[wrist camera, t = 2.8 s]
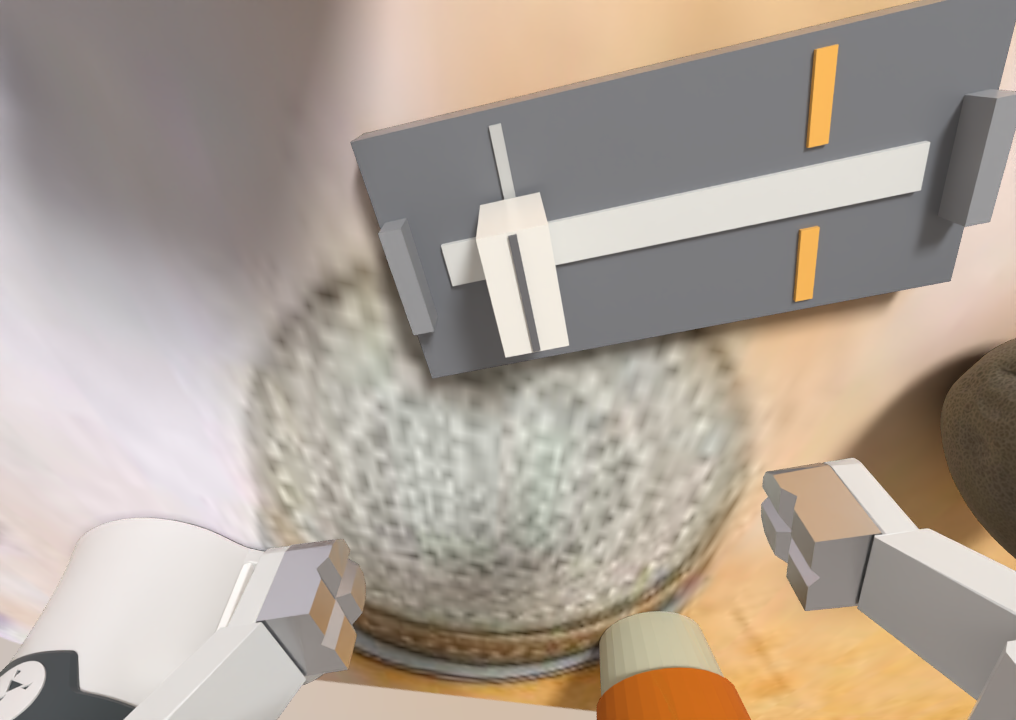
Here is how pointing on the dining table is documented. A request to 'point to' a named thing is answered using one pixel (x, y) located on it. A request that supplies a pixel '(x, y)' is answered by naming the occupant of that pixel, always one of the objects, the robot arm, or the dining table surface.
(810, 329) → the dining table surface
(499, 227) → the fader
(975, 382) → the dark grey stone
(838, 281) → the console
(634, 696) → the reusable coffee cup
